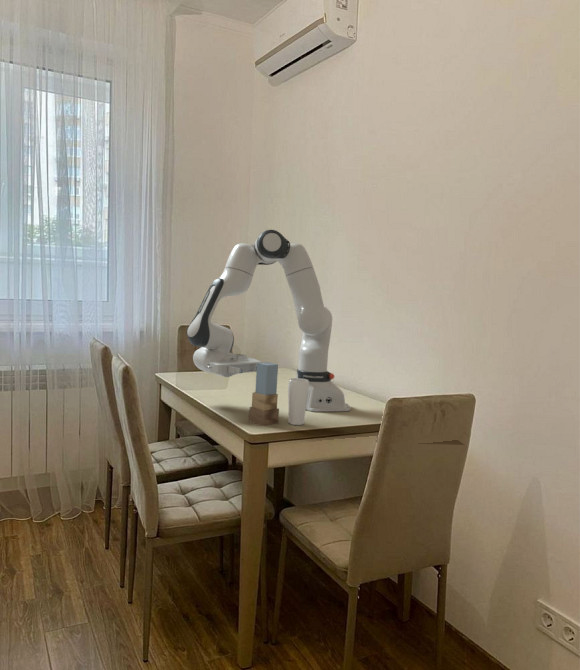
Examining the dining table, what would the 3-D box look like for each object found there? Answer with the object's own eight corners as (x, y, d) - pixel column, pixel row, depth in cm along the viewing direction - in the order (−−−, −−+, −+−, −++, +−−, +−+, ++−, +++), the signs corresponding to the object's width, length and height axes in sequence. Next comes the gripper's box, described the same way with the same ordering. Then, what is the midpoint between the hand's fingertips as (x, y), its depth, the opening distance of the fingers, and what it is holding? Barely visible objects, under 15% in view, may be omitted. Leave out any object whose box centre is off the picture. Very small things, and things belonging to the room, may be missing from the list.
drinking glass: (283, 424, 194) (285, 380, 192) (290, 420, 200) (293, 377, 199) (302, 427, 191) (305, 382, 190) (308, 423, 198) (311, 379, 196)
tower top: (264, 405, 199) (265, 390, 199) (276, 408, 195) (277, 394, 195) (251, 407, 195) (252, 392, 195) (263, 410, 191) (264, 395, 190)
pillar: (266, 391, 198) (268, 362, 197) (276, 393, 195) (278, 364, 194) (255, 392, 195) (257, 363, 194) (265, 395, 191) (267, 365, 190)
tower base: (263, 419, 200) (264, 404, 200) (278, 423, 196) (279, 408, 195) (248, 421, 195) (249, 407, 195) (263, 426, 191) (263, 411, 190)
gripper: (202, 357, 202) (228, 362, 192) (247, 354, 216) (272, 359, 206) (201, 374, 202) (226, 381, 193) (246, 371, 217) (271, 377, 207)
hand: (251, 370), depth 200 cm, fingers open, 8 cm apart
